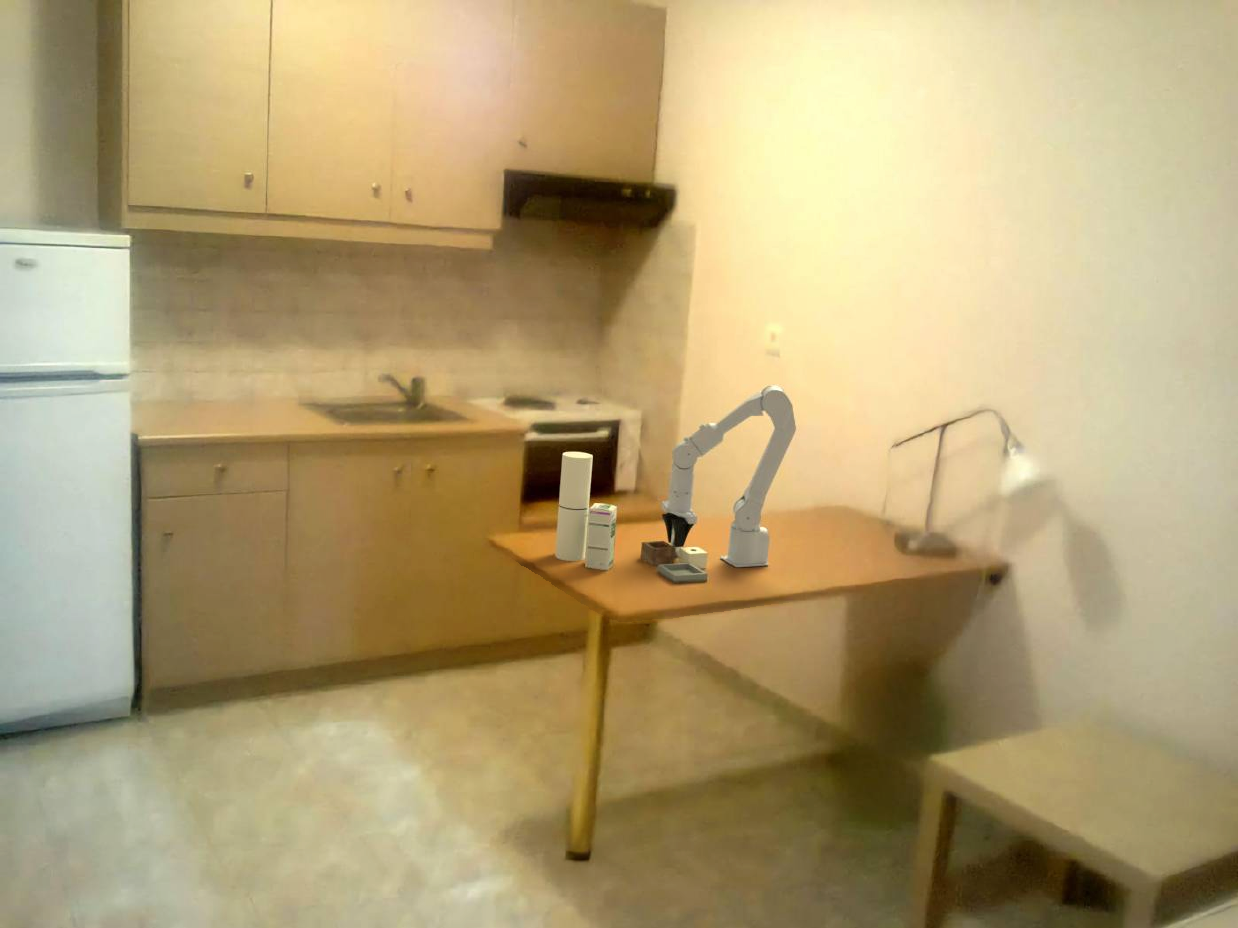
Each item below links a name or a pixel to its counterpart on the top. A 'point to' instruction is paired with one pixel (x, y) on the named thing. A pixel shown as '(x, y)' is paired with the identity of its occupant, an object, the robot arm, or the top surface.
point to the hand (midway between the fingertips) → (675, 544)
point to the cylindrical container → (573, 506)
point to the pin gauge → (674, 543)
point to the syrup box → (600, 536)
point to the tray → (682, 572)
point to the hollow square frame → (657, 552)
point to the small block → (693, 556)
